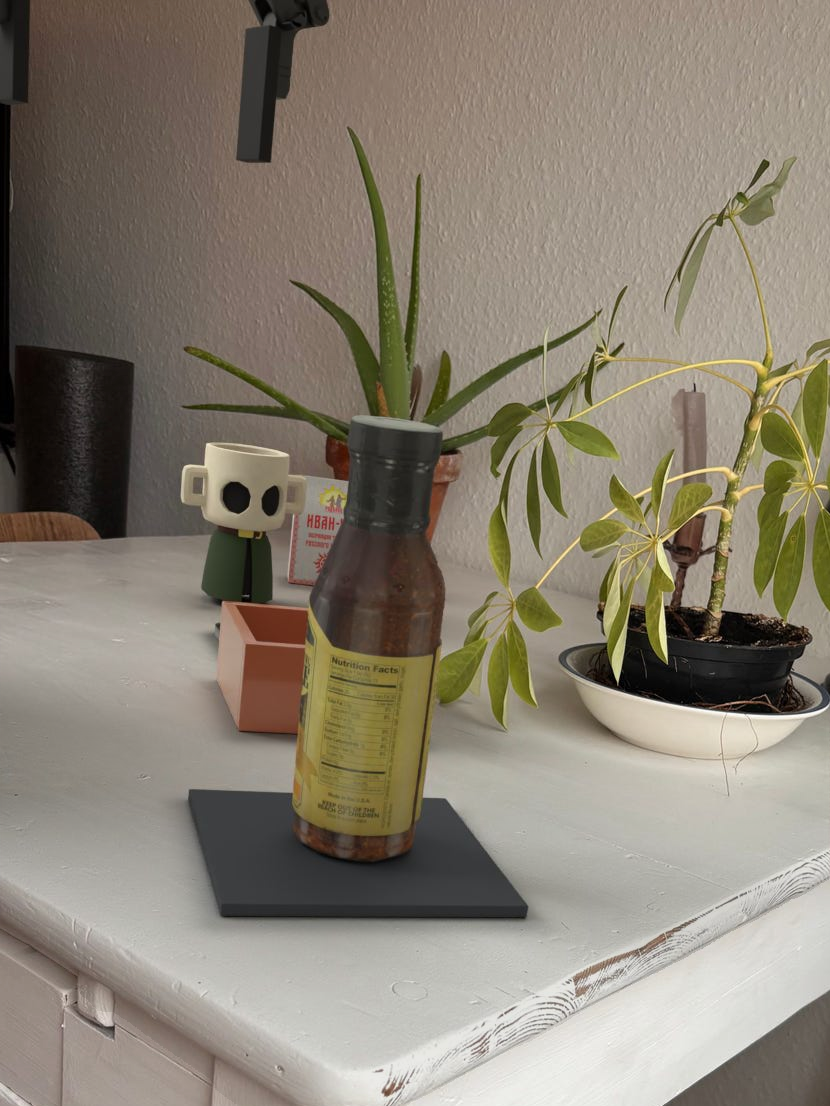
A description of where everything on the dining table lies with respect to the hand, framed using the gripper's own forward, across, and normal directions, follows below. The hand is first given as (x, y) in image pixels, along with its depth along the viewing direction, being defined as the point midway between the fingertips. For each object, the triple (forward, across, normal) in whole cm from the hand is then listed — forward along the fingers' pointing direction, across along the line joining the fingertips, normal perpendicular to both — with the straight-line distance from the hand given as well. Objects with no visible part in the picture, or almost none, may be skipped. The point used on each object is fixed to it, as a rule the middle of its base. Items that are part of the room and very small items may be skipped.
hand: (139, 134), depth 68 cm
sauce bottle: (+31, +2, -25) cm, 40 cm away
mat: (+32, +2, -25) cm, 40 cm away
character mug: (+32, +23, +28) cm, 48 cm away
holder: (+32, +13, -3) cm, 34 cm away
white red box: (+32, +37, +35) cm, 60 cm away
